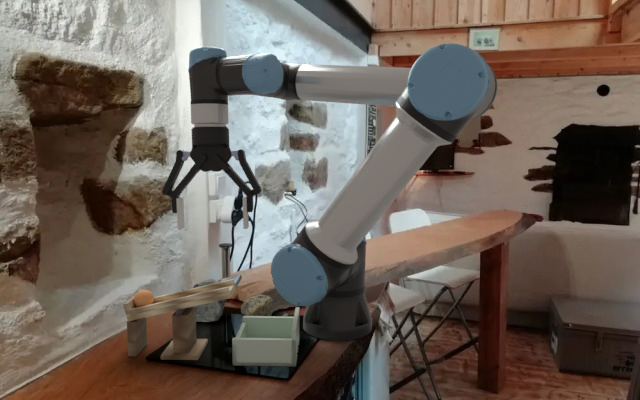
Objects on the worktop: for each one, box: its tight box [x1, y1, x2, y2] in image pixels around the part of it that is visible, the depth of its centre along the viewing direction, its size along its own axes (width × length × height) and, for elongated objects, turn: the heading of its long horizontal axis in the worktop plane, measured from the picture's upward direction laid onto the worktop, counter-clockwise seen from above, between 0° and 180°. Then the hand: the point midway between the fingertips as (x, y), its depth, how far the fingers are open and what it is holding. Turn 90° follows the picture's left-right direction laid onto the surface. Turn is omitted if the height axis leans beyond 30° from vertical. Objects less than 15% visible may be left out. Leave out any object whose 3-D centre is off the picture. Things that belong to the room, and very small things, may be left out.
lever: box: [122, 274, 243, 321], centre depth 100 cm, size 20×14×4 cm
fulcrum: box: [126, 306, 209, 361], centre depth 98 cm, size 14×8×8 cm, turn 89°
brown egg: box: [134, 289, 155, 307], centre depth 97 cm, size 4×4×4 cm
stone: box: [192, 278, 227, 323], centre depth 116 cm, size 10×10×10 cm
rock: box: [240, 293, 275, 316], centre depth 118 cm, size 7×8×4 cm
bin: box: [231, 306, 301, 367], centre depth 98 cm, size 12×12×7 cm
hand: (213, 228), depth 106 cm, fingers open, 13 cm apart
